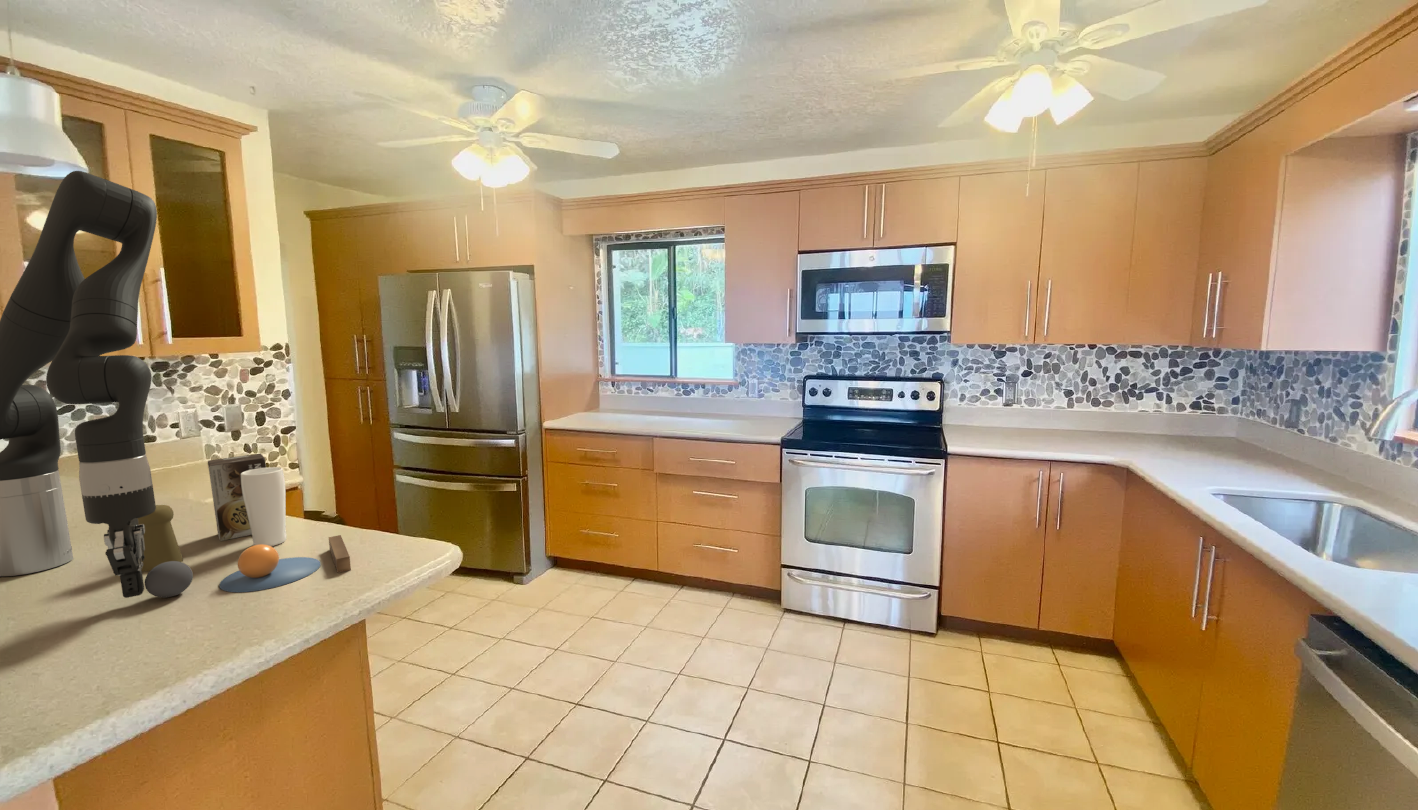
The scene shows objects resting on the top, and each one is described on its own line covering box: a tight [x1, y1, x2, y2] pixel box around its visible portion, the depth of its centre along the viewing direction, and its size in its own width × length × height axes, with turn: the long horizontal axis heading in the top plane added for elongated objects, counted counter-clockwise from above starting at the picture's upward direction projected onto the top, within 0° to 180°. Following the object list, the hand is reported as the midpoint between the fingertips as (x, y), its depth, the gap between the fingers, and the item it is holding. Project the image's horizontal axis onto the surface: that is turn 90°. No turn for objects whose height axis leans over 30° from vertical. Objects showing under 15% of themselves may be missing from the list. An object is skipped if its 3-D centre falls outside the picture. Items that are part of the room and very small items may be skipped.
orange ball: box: [237, 544, 280, 578], centre depth 98 cm, size 6×6×6 cm
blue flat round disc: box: [219, 556, 321, 593], centre depth 99 cm, size 14×14×1 cm
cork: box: [138, 504, 184, 572], centre depth 103 cm, size 6×6×11 cm
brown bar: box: [328, 534, 352, 574], centre depth 105 cm, size 2×14×2 cm, turn 38°
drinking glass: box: [241, 466, 287, 547], centre depth 113 cm, size 7×7×15 cm
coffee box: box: [207, 453, 267, 542], centre depth 120 cm, size 9×6×16 cm
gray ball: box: [144, 561, 194, 599], centre depth 91 cm, size 6×6×6 cm
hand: (134, 594), depth 88 cm, fingers closed
